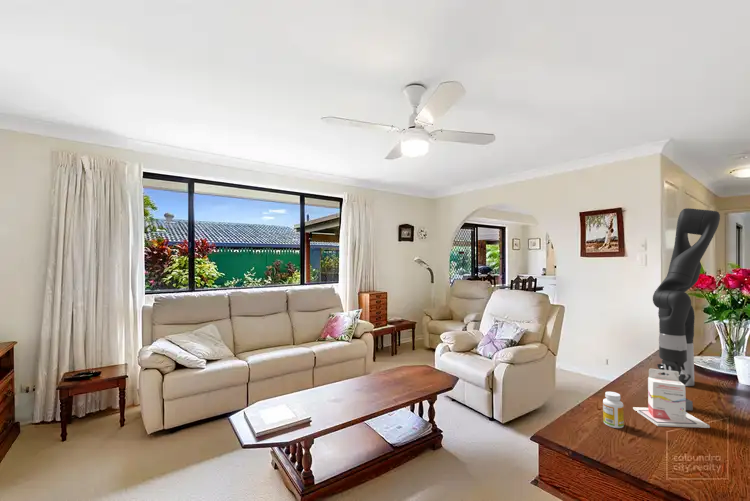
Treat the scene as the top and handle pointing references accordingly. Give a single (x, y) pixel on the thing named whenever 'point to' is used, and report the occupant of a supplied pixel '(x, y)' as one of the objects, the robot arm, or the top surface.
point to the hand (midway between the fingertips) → (673, 395)
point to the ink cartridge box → (666, 395)
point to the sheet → (690, 420)
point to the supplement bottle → (613, 410)
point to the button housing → (689, 405)
